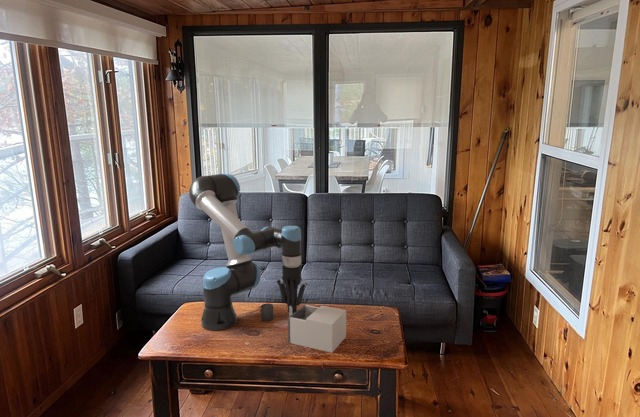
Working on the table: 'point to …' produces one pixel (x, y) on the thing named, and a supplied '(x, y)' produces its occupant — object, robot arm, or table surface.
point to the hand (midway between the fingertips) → (292, 320)
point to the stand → (267, 312)
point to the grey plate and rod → (298, 314)
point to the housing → (319, 328)
